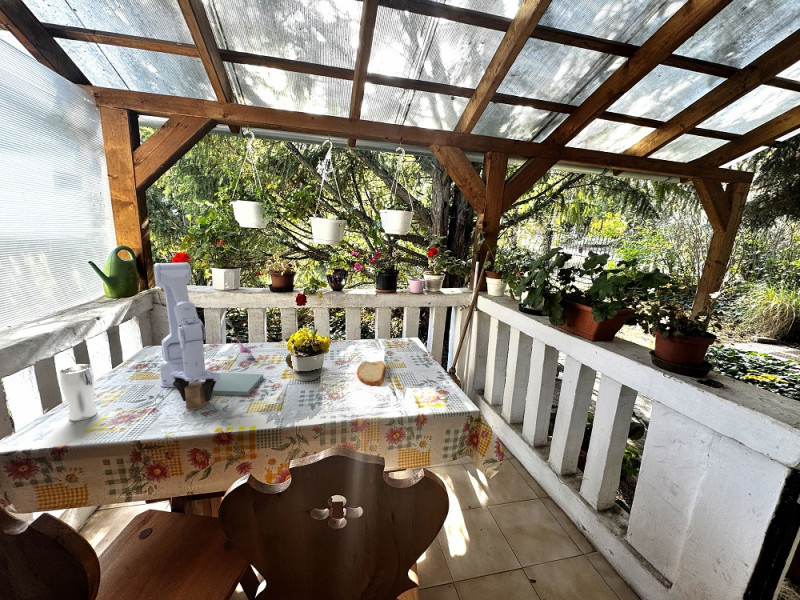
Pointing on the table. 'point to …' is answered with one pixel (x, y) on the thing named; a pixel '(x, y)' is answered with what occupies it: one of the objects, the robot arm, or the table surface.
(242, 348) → the lily
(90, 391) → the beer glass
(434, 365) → the table surface
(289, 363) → the potato
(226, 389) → the slate board
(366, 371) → the slice of bread
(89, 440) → the table surface
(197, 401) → the walnut block
